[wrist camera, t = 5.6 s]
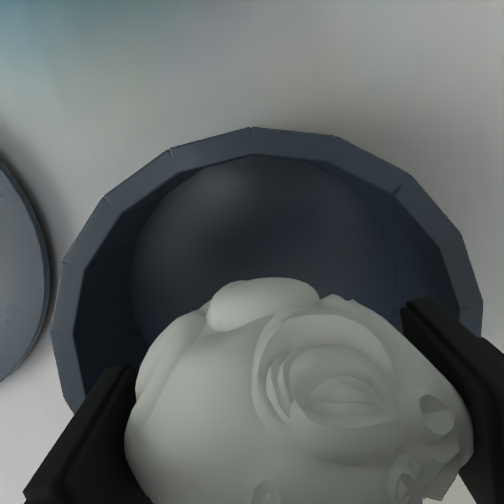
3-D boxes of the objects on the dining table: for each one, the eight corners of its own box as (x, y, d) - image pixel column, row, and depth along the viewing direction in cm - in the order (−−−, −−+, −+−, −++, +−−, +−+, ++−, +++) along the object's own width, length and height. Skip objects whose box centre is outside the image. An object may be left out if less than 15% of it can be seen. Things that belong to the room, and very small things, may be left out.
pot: (71, 184, 18) (-21, 197, 12) (384, 102, 17) (457, 71, 11) (164, 442, 22) (129, 555, 15) (430, 384, 21) (504, 481, 14)
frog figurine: (398, 382, 13) (554, 645, 6) (200, 434, 14) (144, 724, 7) (354, 209, 11) (498, 307, 5) (133, 277, 12) (-25, 452, 5)
